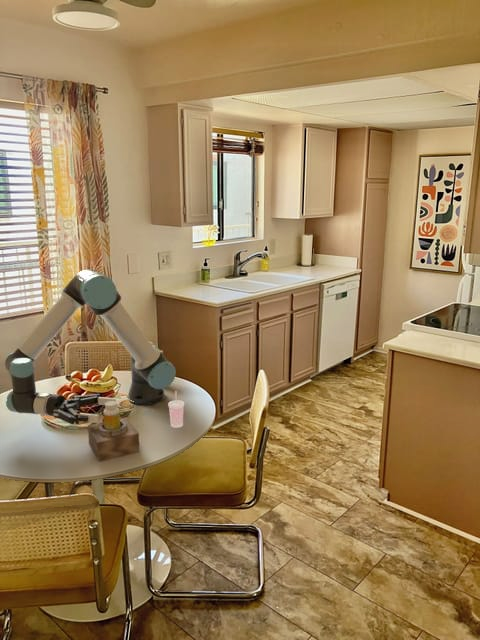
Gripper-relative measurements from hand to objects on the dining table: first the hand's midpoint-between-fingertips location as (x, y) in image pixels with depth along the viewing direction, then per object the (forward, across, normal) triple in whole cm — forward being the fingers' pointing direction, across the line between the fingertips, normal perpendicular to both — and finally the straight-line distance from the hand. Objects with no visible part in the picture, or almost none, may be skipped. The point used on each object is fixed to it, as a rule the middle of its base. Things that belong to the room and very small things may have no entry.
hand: (107, 410), depth 177 cm
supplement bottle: (+1, 0, -7) cm, 7 cm away
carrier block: (+1, 0, -14) cm, 14 cm away
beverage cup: (+18, -22, -14) cm, 31 cm away
